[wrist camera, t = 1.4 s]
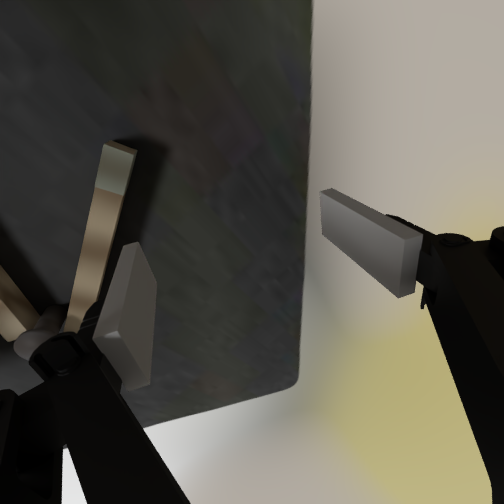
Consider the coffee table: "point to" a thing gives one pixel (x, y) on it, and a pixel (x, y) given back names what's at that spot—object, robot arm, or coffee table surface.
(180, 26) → the coffee table surface
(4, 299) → the tongs fixed
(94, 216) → the tongs jaw
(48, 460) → the robot arm
